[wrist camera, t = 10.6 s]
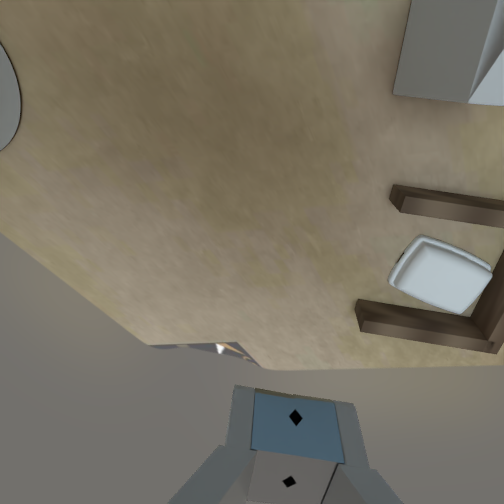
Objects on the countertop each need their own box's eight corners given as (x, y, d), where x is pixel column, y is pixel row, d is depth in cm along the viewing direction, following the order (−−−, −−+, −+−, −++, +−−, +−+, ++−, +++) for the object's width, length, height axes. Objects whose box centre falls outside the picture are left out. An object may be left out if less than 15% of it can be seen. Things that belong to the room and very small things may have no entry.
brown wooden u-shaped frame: (354, 309, 41) (360, 331, 37) (393, 184, 34) (405, 196, 31) (478, 330, 40) (496, 354, 37) (542, 206, 34) (572, 221, 30)
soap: (492, 261, 37) (508, 275, 34) (452, 309, 40) (463, 325, 37) (417, 229, 36) (426, 240, 34) (381, 280, 39) (388, 294, 37)
